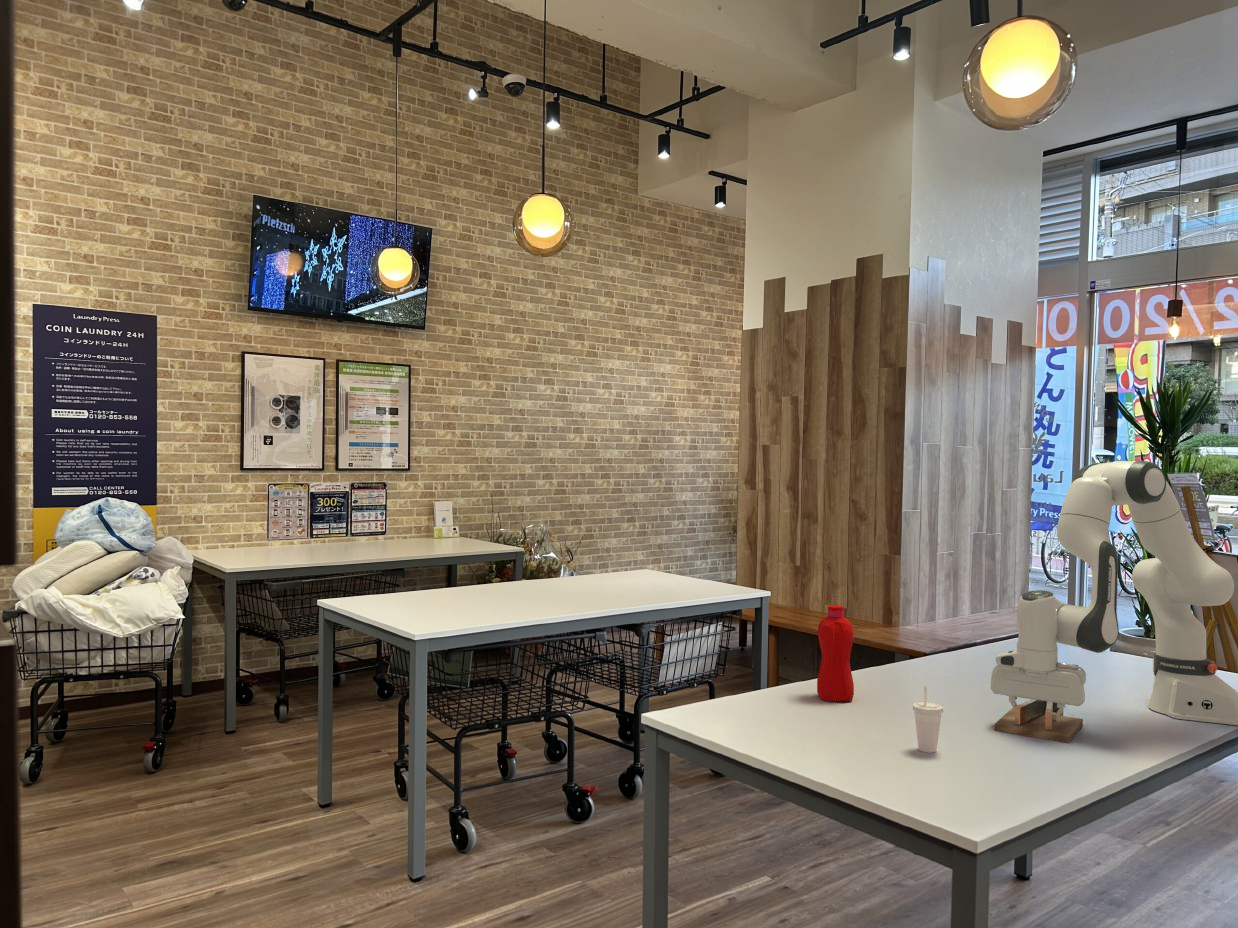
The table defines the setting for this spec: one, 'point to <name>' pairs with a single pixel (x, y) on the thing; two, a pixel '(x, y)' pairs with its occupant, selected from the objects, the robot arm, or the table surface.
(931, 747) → the smoothie
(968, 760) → the table surface
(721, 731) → the table surface
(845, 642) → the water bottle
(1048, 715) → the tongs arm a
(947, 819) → the table surface
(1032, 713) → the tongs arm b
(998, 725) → the walnut board
